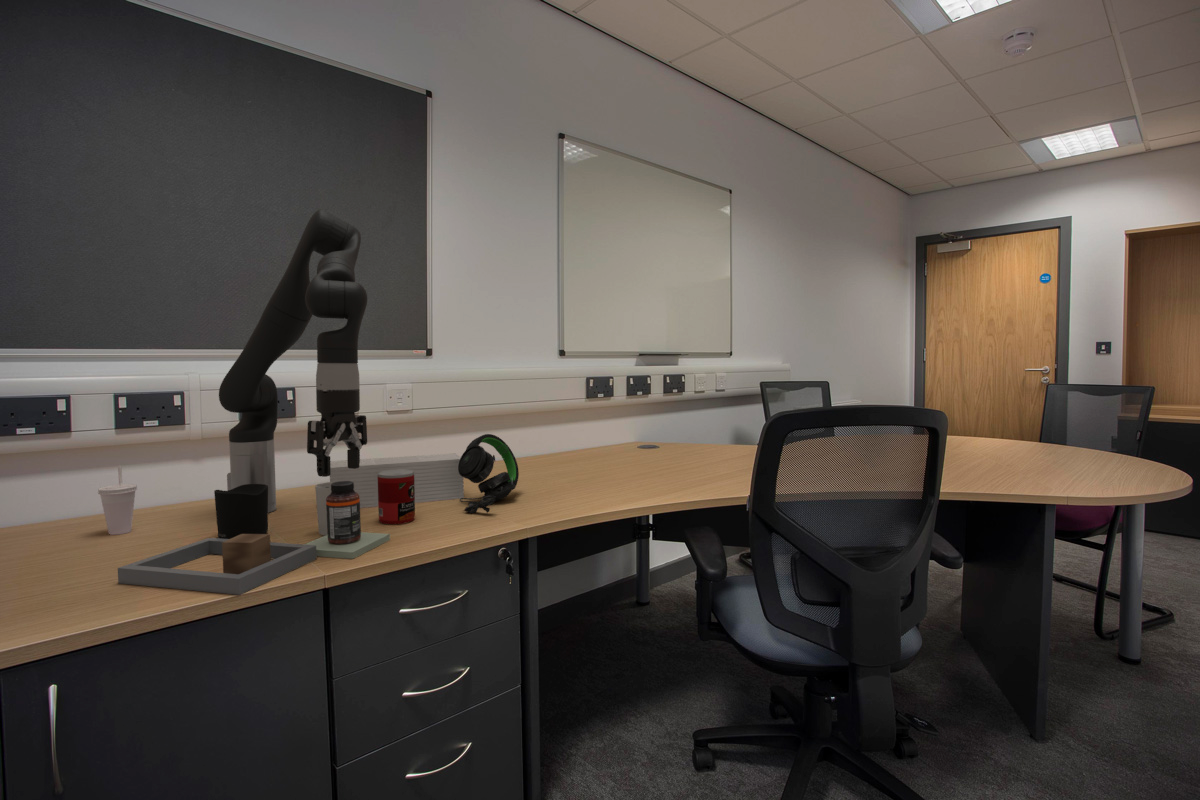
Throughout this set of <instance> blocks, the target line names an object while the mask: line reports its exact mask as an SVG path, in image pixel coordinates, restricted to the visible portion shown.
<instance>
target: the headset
mask: <svg viewBox="0 0 1200 800" xmlns="http://www.w3.org/2000/svg"><path fill="white" fill-rule="evenodd" d="M481 443H485V444H488V445H489V446H491V447H493V448H494V449H495V451H496V452H497V453H498V454H499V455H500V456H501V458H502V460H503V461H504V464H505V467H506V471H503V472H500V473H498V474H495V475H494V476H492V477H490V478H489V476H490V474H491V473H492V471H493V468H494V465H495V462H496V457H495V455H494V454H493V455H492V454H491V453H489V452H488V451H486V450H485V449H484V447H483V446H481ZM460 457H461V458H460V461H459V465H458V471H459V474H460V475H461V476H462V477H463V478H464V479H465V480H466V479H467V480H469V481H470V482H471V483H472V484H477V487H478V490H479V492H480V494H483V493H484V495H482V496H481V497H476V498H475V497H473V498H470V497H469V498H468V497H464V498H461V499H459V502H461V503H468V506H467V507H465V509H464V512H467V513H470V514H474V513H477V511H478V510H479V509H482V510H484V511H485V512H486V514H488V513H489V512H490V510H491V508H490V507H489V506H491V505H493V504H495V502H498V501H500V500H503V499H504V498H507V497H508V496H509V495H510V493H512V491H513V490H515V489H516V487H517V485H518V481H519V475H520V474H519V473H520V471H519V465H518V462H517V459H516V457H515V455H514V453H513V450H512V449H511V448H510V446H509V445H508V444H507V443H506V442H505V441H504V440H503V439H502V438H500V437H499V436H497V435H494V434H493V433H491V434H489V433H486V434H482V435H480V436H478V437H476V438H474V439H473V440H472V441H471V442H469V443H468V444H467V446H466V449H465V451H464V452H463V453H462V455H461V456H460ZM464 500H465V501H464ZM474 500H479V501H474Z"/></svg>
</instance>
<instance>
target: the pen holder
mask: <svg viewBox="0 0 1200 800" xmlns="http://www.w3.org/2000/svg"><path fill="white" fill-rule="evenodd" d="M213 494H214V502H215V503H214V505H215V515H216V516H215V517H216V525H217V526H216V527H217V536H218V537H217V538H221V539H231V538H233V537H236V536H238V535H240V534H268V530H269V528H268V527H269V525H268V524H269V521H268V520H269V513H268V485H265V484H245V485H241V486H238V487H236V488H234V489H231V490H228V489H227V490H222V489H215V490H214V491H213Z"/></svg>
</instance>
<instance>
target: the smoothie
mask: <svg viewBox="0 0 1200 800" xmlns="http://www.w3.org/2000/svg"><path fill="white" fill-rule="evenodd" d="M117 469H118V471H117V472H118V484H113V485H106V486H102V487H100V488H98V491H97V494H98V495H100V499H101V503H102V505H101V506H102V508H103V510H102V511H103V512H104V513H103V514H104V519H105V522H106V527H107V532H108V535H109V534H110V535H111V536H115V535H124V534H128V533H130V532H132V527H133V526H132V525H133V517H134V506H135V497H136V491H137V490H138V487H137V484H134V483H123V474H122V473H123V471H122V469H123V468H122V465H117Z"/></svg>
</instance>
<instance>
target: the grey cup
mask: <svg viewBox="0 0 1200 800" xmlns="http://www.w3.org/2000/svg"><path fill="white" fill-rule="evenodd" d="M332 483H334V482H330V481H327V482H321V483H318V484H316V485H315V486H314V490H315V502H316V511H317V512H316V513H317V515H316V516H317V525H318V534H319V535H322V536H325V535H328V534H327V510H326V498H327V496H328V495H330V494H331V492H332V491H331V484H332Z"/></svg>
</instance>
